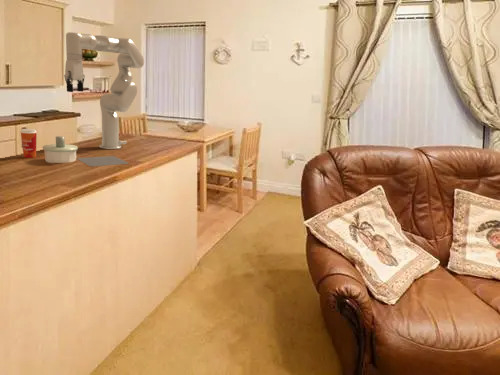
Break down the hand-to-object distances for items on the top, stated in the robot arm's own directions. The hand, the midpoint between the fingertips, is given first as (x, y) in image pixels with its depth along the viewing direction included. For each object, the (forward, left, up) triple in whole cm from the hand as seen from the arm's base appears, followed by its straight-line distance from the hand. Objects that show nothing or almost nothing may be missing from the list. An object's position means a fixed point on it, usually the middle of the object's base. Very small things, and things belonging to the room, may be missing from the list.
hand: (75, 91), depth 227 cm
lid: (+13, +15, -27) cm, 34 cm away
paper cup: (+24, +2, -34) cm, 41 cm away
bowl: (+13, +15, -33) cm, 39 cm away
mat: (-5, +24, -33) cm, 41 cm away
